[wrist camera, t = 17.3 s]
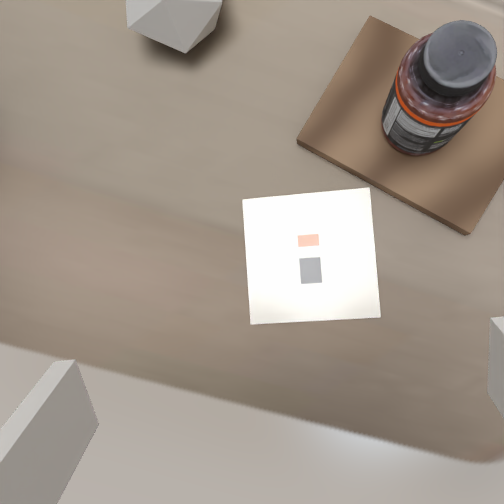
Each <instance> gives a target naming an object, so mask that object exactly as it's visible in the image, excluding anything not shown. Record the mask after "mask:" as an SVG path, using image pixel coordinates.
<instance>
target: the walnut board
mask: <svg viewBox="0 0 504 504" xmlns="http://www.w3.org/2000/svg"><path fill="white" fill-rule="evenodd" d="M418 40H419V39H418V38H416V37H414V36H412V35H409V34H407V33H405V32H403V31H401V30H399V29H397V28H395V27H393V26H391V25H389V24H387V23H384V22H382V21H380V20H378V19H376V18H374V17H372V16H369V18H368V19H367V21H366V23H365V24H364V26H363V28H362V29H361V31H360V33H359V35H358V36H357V38H356V40H355V41H354V43H353V45H352V46H351V48H350V50H349V51H348V53H347V55H346V56H345V58H344V60H343V61H342V63H341V65H340V66H339V68H338V70H337V71H336V73H335V75H334V76H333V78H332V80H331V81H330V83H329V85H328V87H327V88H326V90H325V92H324V93H323V95H322V97H321V98H320V100H319V102H318V103H317V105H316V107H315V108H314V110H313V112H312V113H311V115H310V117H309V118H308V120H307V122H306V123H305V125H304V127H303V128H302V130H301V132H300V134H299V135H298V137H297V144H298V145H300V146H302V147H304V148H306V149H308V150H309V151H311V152H313V153H315V154H317V155H319V156H320V157H322V158H324V159H326V160H328V161H330V162H331V163H333V164H335V165H337V166H339V167H341V168H342V169H344V170H346V171H348V172H350V173H352V174H353V175H355V176H357V177H359V178H361V179H363V180H364V181H366V182H368V183H370V184H372V185H373V186H375V187H377V188H379V189H381V190H383V191H384V192H386V193H388V194H390V195H392V196H394V197H395V198H397V199H399V200H401V201H403V202H405V203H406V204H408V205H410V206H412V207H414V208H416V209H417V210H419V211H421V212H423V213H425V214H427V215H428V216H430V217H432V218H434V219H436V220H438V221H439V222H441V223H443V224H445V225H447V226H449V227H450V228H452V229H454V230H456V231H458V232H460V233H461V234H463V235H467V234H471V232H472V231H473V229H474V227H475V226H476V224H477V223H478V221H479V219H480V218H481V216H482V214H483V213H484V211H485V209H486V208H487V206H488V204H489V203H490V201H491V199H492V198H493V196H494V195H495V193H496V191H497V190H498V188H499V186H500V185H501V183H502V181H503V180H504V80H503V79H501V78H499V77H497V76H496V79H495V84H494V88H493V90H492V92H491V95H490V96H489V98H488V100H487V101H486V103H485V104H484V105H483V107H482V108H481V109H480V110H479V111H478V112H477V113H476V114H475V115H474V116H473V117H472V118H471V119H470V120H469V121H468V122H467V123H466V125H465V126H464V127H463V128H462V129H461V130H460V131H459V132H458V133H457V134H456V135H455V136H454V137H453V138H452V139H451V140H450V141H449V142H448V143H447V144H446V145H445V146H443V147H442V148H440V149H439V150H437V151H435V152H433V153H430V154H426V155H418V156H415V155H409V154H405V153H403V152H400V151H399V150H397V149H396V148H394V147H393V146H392V145H391V144H390V143H389V142H388V141H387V139H386V137H385V135H384V133H383V130H382V125H381V118H382V111H383V108H384V105H385V102H386V100H387V97H388V94H389V92H390V89H391V86H392V84H393V81H394V79H395V76H396V73H397V71H398V68H399V66H400V63H401V61H402V59H403V57H404V56H405V54H406V52H407V51H408V50H409V49H410V47H411V46H412V45H413V44H414V43H415V42H416V41H418Z"/></svg>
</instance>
